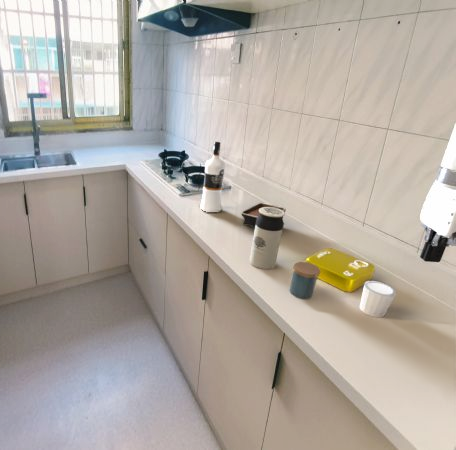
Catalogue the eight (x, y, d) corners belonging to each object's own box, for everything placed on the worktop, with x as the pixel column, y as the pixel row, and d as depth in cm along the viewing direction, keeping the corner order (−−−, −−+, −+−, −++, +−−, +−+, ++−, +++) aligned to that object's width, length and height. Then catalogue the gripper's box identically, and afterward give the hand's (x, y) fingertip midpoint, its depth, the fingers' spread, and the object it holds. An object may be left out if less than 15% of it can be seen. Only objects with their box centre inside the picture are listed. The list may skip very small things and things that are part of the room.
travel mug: (264, 255, 113) (273, 205, 106) (280, 267, 107) (291, 214, 99) (244, 259, 110) (252, 208, 103) (260, 271, 104) (270, 217, 96)
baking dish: (234, 230, 136) (236, 208, 131) (259, 213, 146) (262, 193, 141) (265, 245, 127) (269, 222, 122) (290, 226, 137) (294, 205, 132)
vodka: (210, 204, 157) (217, 139, 145) (225, 211, 150) (233, 142, 138) (195, 208, 152) (201, 140, 140) (210, 215, 145) (217, 144, 133)
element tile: (326, 257, 113) (329, 245, 111) (373, 278, 102) (378, 264, 100) (301, 270, 105) (304, 257, 103) (349, 294, 94) (354, 279, 92)
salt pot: (309, 287, 97) (315, 262, 94) (316, 301, 91) (323, 275, 88) (285, 285, 97) (291, 260, 94) (291, 298, 91) (297, 273, 88)
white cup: (352, 309, 88) (360, 286, 85) (362, 299, 92) (369, 277, 89) (382, 322, 83) (391, 299, 80) (391, 311, 88) (399, 289, 85)
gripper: (514, 190, 59) (473, 280, 66) (455, 169, 72) (426, 245, 80) (468, 189, 60) (432, 277, 67) (418, 168, 73) (393, 243, 81)
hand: (429, 259), depth 73 cm, fingers closed
